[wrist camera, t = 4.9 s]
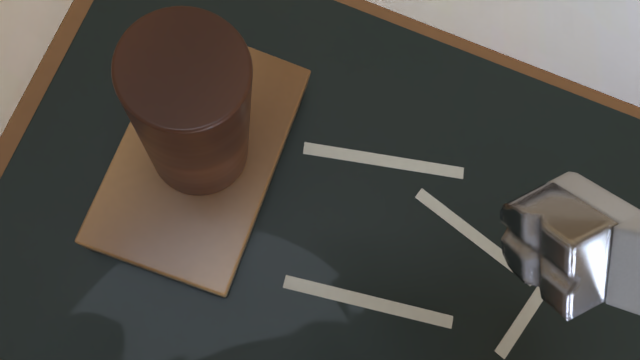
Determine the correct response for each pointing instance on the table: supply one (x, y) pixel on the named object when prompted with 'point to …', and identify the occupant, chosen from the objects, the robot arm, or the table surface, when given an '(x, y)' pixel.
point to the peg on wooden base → (191, 147)
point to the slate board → (317, 201)
